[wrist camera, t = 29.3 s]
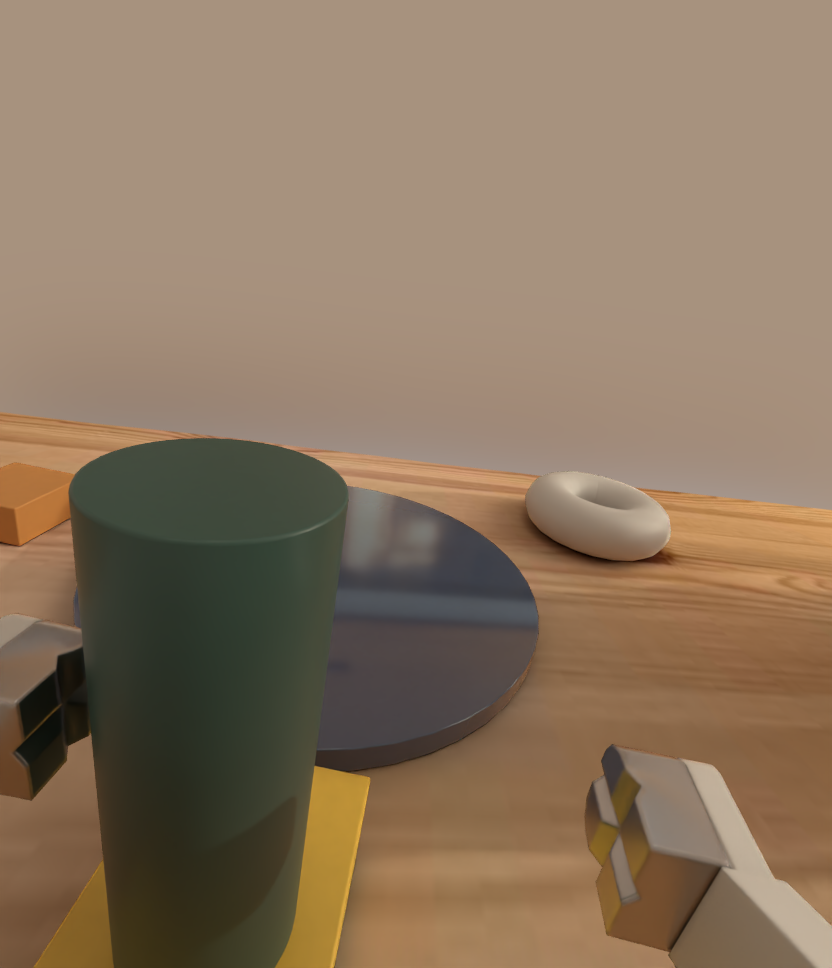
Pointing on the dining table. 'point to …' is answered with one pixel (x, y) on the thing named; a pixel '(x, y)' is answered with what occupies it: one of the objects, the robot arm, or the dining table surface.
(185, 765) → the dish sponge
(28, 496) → the orange block
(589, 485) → the donut
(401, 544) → the plate
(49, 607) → the dining table surface
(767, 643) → the dining table surface
